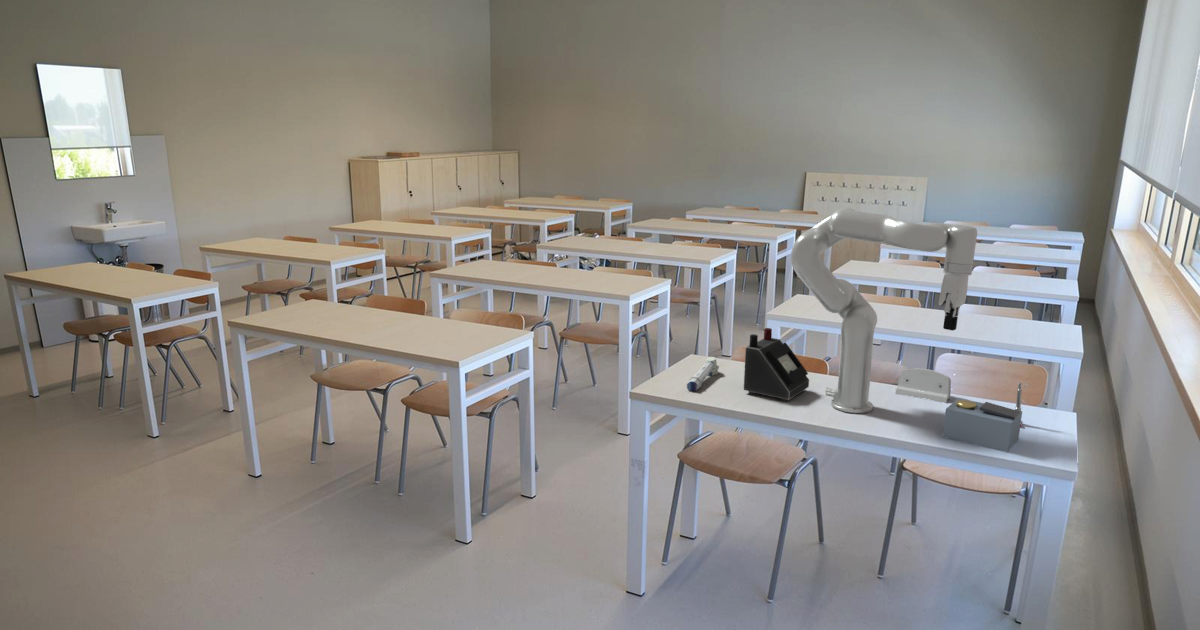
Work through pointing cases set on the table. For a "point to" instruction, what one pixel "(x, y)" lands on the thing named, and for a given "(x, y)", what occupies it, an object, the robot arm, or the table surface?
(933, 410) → the table surface
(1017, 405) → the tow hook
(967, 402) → the brass pin
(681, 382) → the table surface
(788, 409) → the table surface
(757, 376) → the voltmeter
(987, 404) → the grey flat rectangular plate
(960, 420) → the grey rectangular box
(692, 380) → the grey blue-ended cylinder
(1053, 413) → the table surface
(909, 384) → the hinge
